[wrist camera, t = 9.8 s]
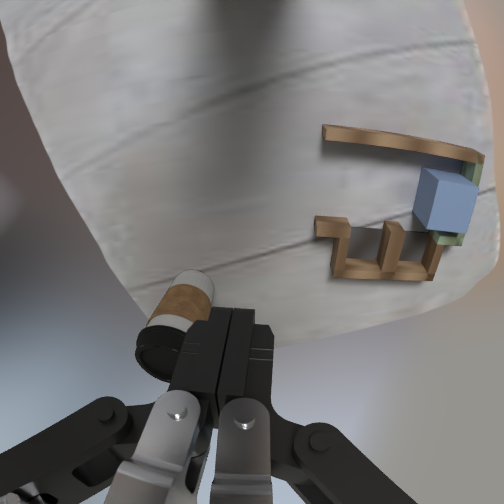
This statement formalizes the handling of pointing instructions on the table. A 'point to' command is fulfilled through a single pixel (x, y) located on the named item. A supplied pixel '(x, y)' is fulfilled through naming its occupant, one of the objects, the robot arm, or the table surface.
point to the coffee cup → (173, 323)
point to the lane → (392, 235)
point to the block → (444, 200)
